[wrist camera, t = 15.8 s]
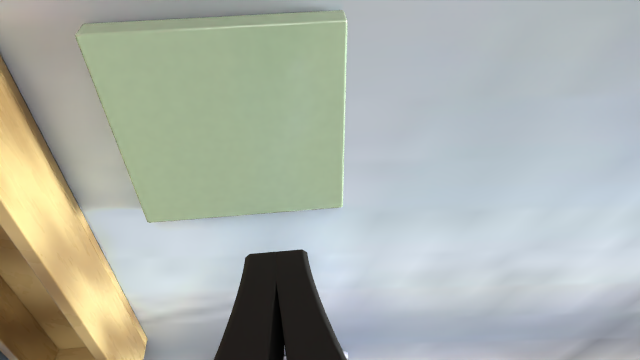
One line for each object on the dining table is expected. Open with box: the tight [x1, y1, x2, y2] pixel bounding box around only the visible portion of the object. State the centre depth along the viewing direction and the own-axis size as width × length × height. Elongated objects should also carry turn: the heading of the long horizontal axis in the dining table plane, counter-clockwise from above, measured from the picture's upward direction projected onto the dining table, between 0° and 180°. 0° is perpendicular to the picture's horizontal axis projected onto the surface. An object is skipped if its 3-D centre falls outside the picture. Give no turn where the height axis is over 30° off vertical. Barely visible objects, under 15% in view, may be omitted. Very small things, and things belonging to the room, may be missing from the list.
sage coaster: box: [75, 10, 347, 223], centre depth 15 cm, size 8×1×8 cm
